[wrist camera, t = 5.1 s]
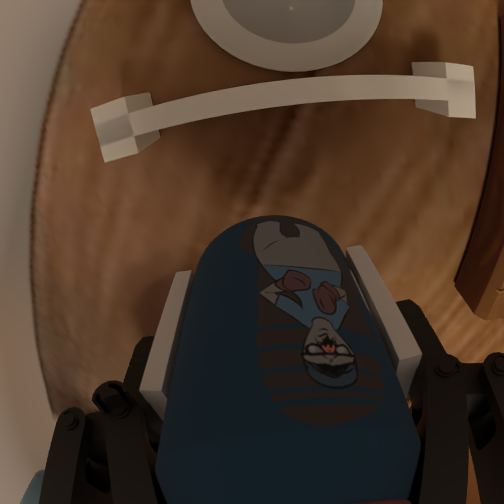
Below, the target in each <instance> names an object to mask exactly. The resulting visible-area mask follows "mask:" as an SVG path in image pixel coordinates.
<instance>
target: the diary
mask: <svg viewBox="0 0 504 504" xmlns="http://www.w3.org/2000/svg"><path fill="white" fill-rule="evenodd" d="M500 20H501V42H502V65H501V88H500V101H499V112H498V120H497V128H496V135H495V142H494V148H493V154H492V159H491V164H490V169H489V174H488V179H487V183H486V187H485V192H484V196H483V200H482V204H481V207H480V211H479V215H478V218H477V222H476V225H475V228H474V232H473V235H472V238H471V241H470V244H469V247H468V250H467V253H466V256H465V259H464V261H463V264H462V267H461V270H460V272H459V275H458V277H457V280H456V283H455V288H456V289H457V290H458V292H459V293H460V294H461V296H462V297H463V299H464V300H465V302H466V303H467V304H468V306H469V307H470V309H471V310H472V312H473V313H474V314H475V315H477V316H478V317H480V318H482V319H484V320H492V319H498V318H504V16H500Z"/></svg>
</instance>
